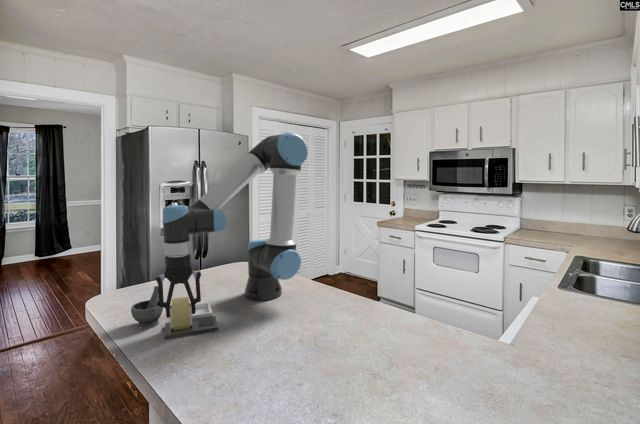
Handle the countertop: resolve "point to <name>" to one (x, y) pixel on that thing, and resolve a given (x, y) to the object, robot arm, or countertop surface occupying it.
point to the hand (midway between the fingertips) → (181, 324)
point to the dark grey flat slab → (194, 327)
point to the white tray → (202, 310)
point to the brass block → (180, 314)
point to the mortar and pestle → (148, 311)
